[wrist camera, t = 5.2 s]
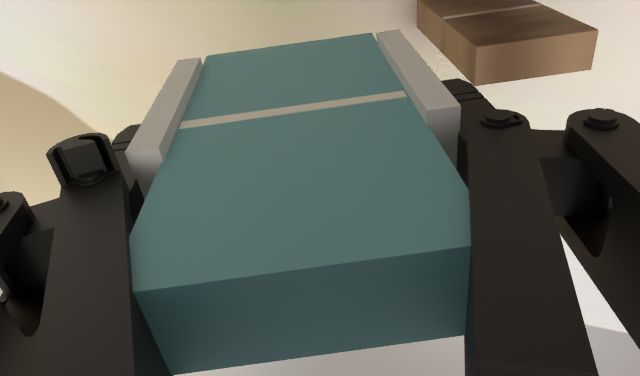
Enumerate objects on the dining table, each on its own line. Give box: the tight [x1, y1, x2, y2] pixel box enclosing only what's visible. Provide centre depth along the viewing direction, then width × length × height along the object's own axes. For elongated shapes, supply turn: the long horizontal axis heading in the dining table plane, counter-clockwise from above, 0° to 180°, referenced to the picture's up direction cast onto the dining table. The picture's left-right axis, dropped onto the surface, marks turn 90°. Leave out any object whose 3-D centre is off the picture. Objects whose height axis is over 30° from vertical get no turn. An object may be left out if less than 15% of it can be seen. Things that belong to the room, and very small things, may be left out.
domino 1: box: [129, 33, 471, 375], centre depth 13 cm, size 6×2×12 cm, turn 97°
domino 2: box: [417, 0, 598, 86], centre depth 29 cm, size 6×2×12 cm, turn 97°
